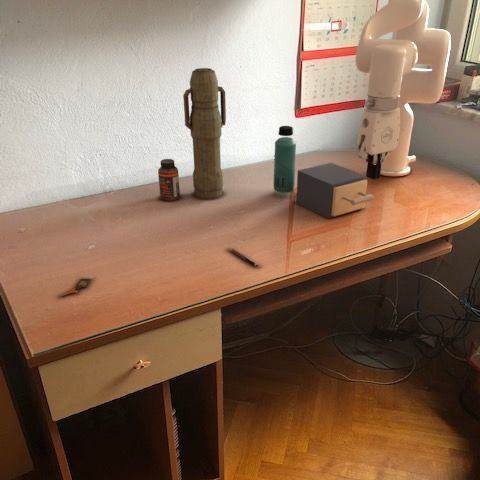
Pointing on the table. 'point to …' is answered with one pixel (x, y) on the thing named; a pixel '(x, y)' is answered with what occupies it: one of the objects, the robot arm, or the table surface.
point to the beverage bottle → (284, 161)
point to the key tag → (81, 284)
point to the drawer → (350, 197)
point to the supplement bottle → (168, 180)
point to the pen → (244, 257)
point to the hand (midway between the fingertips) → (372, 177)
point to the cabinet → (323, 186)
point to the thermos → (205, 131)
